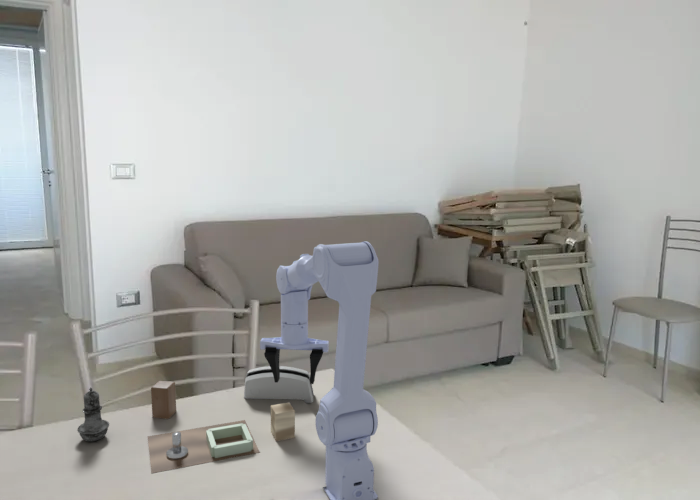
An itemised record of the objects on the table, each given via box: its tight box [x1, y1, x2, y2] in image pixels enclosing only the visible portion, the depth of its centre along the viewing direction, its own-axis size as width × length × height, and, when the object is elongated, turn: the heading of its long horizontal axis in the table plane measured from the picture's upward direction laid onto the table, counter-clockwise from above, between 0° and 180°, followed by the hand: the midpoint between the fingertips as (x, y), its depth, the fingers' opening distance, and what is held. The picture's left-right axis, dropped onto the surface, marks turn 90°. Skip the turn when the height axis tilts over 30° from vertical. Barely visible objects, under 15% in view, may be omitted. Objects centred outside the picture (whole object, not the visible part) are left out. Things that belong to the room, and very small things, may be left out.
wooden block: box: [150, 380, 177, 420], centre depth 123 cm, size 4×4×8 cm
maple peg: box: [270, 402, 296, 442], centre depth 115 cm, size 4×4×7 cm
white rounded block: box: [243, 365, 315, 404], centre depth 133 cm, size 17×5×10 cm, turn 90°
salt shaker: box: [76, 386, 110, 442], centre depth 112 cm, size 6×6×12 cm
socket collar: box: [206, 423, 254, 458], centre depth 111 cm, size 8×8×2 cm
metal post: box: [166, 431, 188, 460], centre depth 107 cm, size 4×4×4 cm
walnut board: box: [147, 419, 261, 474], centre depth 112 cm, size 14×20×1 cm
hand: (294, 381), depth 121 cm, fingers open, 7 cm apart
